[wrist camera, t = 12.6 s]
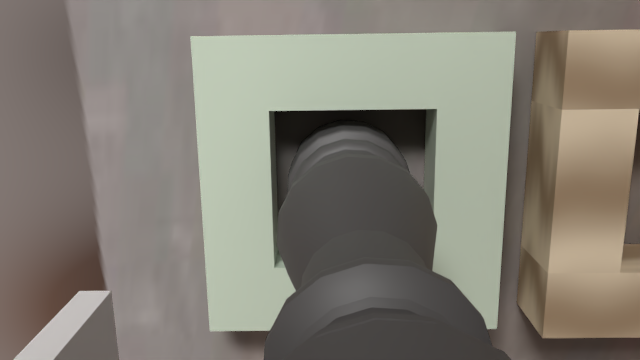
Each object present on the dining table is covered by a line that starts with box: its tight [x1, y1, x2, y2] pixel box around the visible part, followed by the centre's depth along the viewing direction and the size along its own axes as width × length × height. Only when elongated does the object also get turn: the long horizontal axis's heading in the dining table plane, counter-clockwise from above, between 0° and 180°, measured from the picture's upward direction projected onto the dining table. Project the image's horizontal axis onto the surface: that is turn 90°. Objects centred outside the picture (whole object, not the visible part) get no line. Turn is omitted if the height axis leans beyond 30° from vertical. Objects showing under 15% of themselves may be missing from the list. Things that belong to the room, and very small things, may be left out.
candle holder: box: [264, 120, 511, 360], centre depth 19 cm, size 6×6×25 cm
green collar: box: [191, 32, 516, 331], centre depth 30 cm, size 15×15×3 cm
